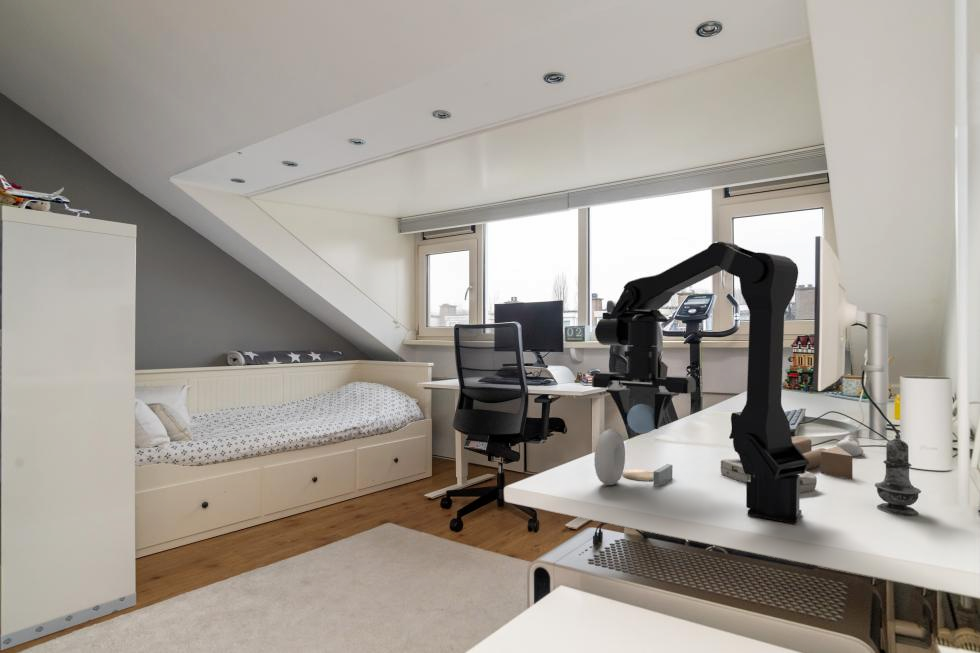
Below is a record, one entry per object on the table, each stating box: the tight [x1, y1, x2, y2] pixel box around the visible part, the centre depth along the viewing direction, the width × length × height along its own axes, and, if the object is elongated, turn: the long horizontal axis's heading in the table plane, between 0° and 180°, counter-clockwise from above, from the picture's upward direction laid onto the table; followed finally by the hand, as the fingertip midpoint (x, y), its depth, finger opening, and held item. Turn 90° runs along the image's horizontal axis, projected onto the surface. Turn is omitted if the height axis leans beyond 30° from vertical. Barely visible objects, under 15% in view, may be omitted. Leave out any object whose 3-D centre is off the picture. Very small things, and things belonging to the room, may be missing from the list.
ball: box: [627, 403, 655, 435], centre depth 105 cm, size 6×6×6 cm
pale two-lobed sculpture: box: [836, 434, 864, 457], centre depth 128 cm, size 4×8×5 cm
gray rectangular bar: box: [652, 463, 673, 487], centre depth 101 cm, size 1×8×2 cm, turn 143°
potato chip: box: [622, 469, 654, 482], centre depth 104 cm, size 7×7×1 cm
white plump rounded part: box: [594, 428, 626, 486], centre depth 98 cm, size 10×4×10 cm, turn 149°
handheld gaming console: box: [720, 458, 818, 493], centre depth 101 cm, size 9×4×15 cm
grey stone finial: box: [874, 433, 922, 517], centre depth 86 cm, size 6×6×12 cm
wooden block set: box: [791, 435, 854, 480], centre depth 116 cm, size 17×6×18 cm
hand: (641, 427), depth 105 cm, fingers closed on ball, 6 cm apart
